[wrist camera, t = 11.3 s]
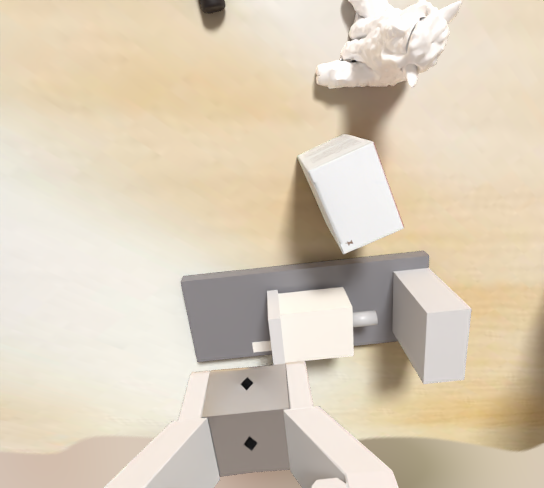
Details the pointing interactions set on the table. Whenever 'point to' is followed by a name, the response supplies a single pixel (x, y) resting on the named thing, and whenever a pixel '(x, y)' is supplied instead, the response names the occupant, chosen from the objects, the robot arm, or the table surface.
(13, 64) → the table surface
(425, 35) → the white creature statuette
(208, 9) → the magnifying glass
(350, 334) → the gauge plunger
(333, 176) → the small box
